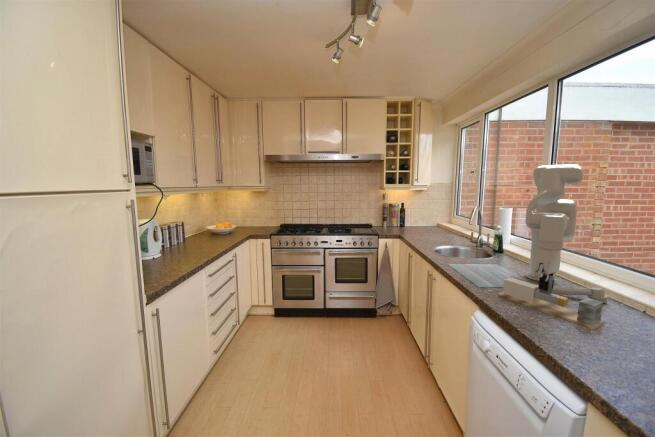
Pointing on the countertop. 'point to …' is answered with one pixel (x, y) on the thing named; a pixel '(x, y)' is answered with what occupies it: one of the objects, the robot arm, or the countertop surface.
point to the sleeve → (520, 289)
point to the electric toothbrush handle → (582, 292)
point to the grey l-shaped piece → (550, 295)
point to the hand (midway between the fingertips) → (545, 288)
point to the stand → (569, 311)
